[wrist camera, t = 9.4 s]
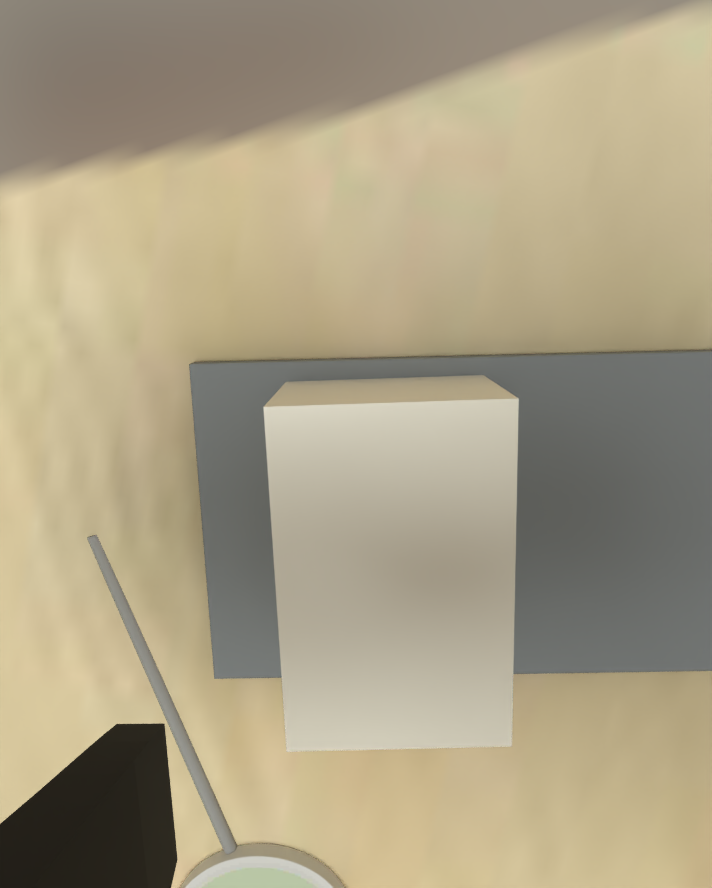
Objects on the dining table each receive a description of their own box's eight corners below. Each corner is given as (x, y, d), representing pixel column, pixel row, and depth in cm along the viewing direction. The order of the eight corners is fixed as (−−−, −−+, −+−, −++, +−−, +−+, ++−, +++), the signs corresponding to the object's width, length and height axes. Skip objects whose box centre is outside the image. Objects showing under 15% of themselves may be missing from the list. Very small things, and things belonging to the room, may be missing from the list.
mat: (970, 343, 15) (990, 345, 15) (914, 656, 17) (930, 667, 16) (194, 362, 15) (188, 364, 15) (218, 667, 17) (214, 678, 17)
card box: (480, 653, 16) (512, 746, 13) (302, 657, 17) (286, 751, 13) (482, 375, 15) (518, 398, 12) (286, 381, 15) (263, 407, 12)
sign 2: (185, 507, 16) (377, 983, 19) (194, 498, 17) (376, 954, 20) (-8, 570, 16) (209, 1026, 19) (11, 557, 17) (215, 996, 20)
